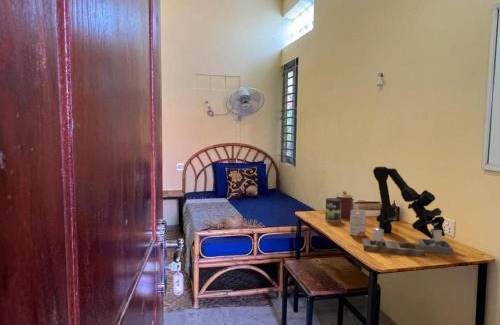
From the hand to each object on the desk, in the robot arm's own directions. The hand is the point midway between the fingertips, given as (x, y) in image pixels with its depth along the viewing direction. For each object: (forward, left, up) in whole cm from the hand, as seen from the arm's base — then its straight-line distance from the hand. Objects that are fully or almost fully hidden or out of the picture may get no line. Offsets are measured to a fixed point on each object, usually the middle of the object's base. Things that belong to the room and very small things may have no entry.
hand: (438, 237), depth 179 cm
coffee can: (-54, +46, -7) cm, 71 cm away
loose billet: (-1, +1, -7) cm, 7 cm away
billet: (-29, -7, -7) cm, 31 cm away
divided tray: (-22, -7, -7) cm, 24 cm away
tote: (-1, +1, -7) cm, 7 cm away
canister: (-47, +62, -7) cm, 78 cm away
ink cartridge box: (-39, +15, -7) cm, 42 cm away
